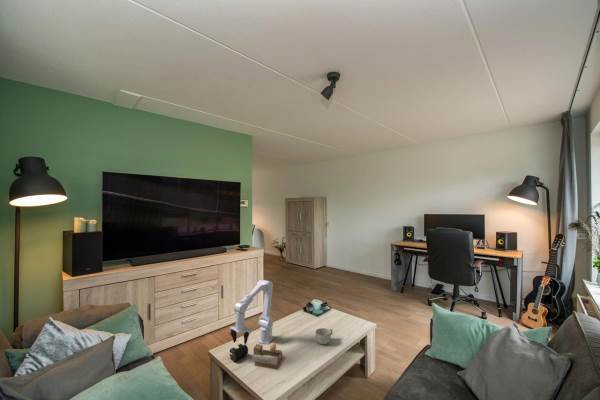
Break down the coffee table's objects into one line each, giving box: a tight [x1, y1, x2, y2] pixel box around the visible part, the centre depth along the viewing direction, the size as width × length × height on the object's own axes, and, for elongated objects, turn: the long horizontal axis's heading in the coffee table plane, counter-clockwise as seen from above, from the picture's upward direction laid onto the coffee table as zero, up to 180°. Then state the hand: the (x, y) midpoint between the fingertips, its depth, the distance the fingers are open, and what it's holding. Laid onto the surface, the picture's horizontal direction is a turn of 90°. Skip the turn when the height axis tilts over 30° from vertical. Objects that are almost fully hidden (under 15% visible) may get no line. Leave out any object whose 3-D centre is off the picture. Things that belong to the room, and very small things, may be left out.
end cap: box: [229, 343, 249, 362], centre depth 165 cm, size 10×7×7 cm
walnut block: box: [253, 343, 264, 356], centre depth 171 cm, size 4×4×4 cm
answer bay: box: [254, 349, 283, 370], centre depth 162 cm, size 13×14×2 cm
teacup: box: [315, 327, 334, 346], centre depth 184 cm, size 14×11×8 cm
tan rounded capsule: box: [269, 342, 277, 352], centre depth 172 cm, size 4×4×5 cm
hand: (240, 342), depth 165 cm, fingers open, 7 cm apart
